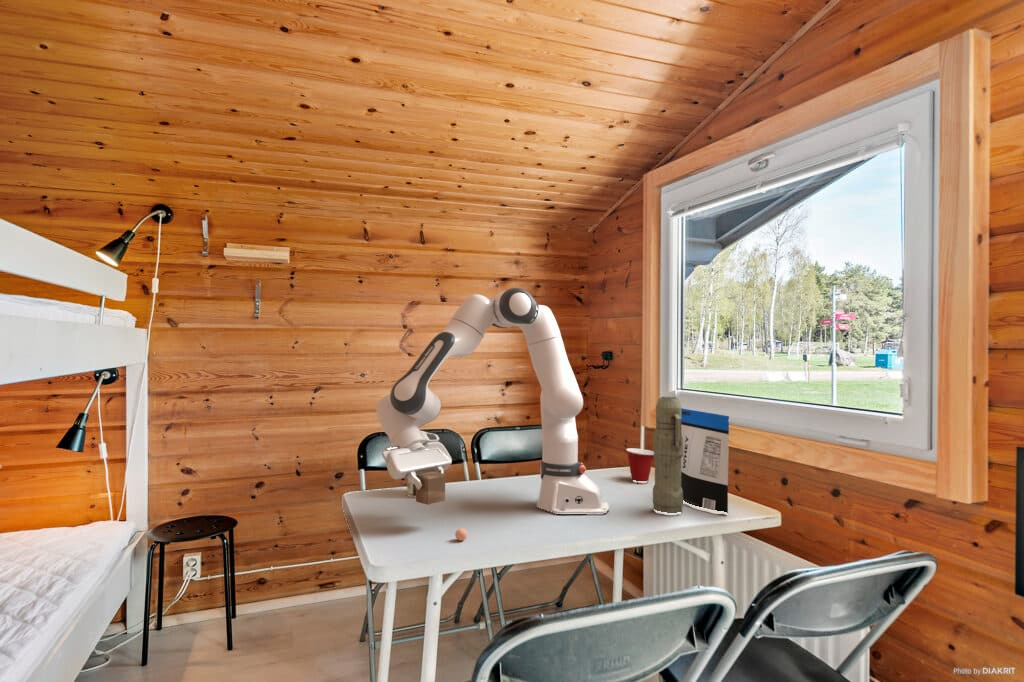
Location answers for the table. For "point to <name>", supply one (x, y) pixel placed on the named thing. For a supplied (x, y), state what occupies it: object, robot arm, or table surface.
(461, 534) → the ball
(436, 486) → the wooden toy cube
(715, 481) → the protein powder
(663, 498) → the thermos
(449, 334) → the robot arm
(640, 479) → the plastic cup
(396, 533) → the table surface
